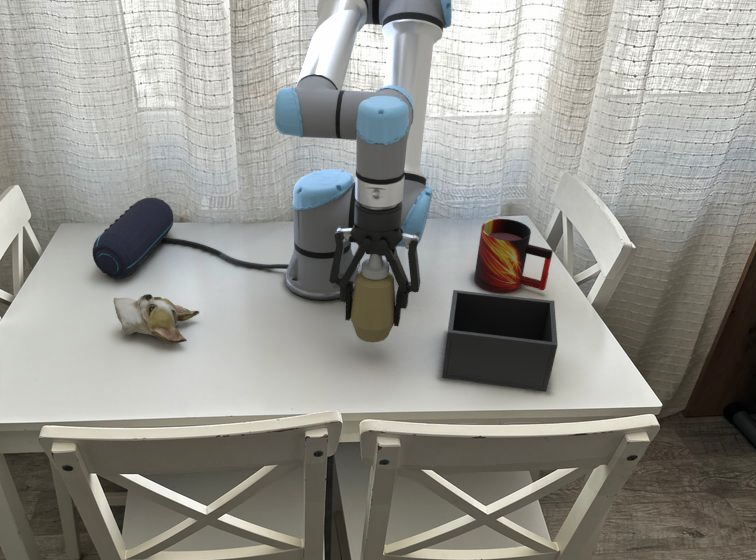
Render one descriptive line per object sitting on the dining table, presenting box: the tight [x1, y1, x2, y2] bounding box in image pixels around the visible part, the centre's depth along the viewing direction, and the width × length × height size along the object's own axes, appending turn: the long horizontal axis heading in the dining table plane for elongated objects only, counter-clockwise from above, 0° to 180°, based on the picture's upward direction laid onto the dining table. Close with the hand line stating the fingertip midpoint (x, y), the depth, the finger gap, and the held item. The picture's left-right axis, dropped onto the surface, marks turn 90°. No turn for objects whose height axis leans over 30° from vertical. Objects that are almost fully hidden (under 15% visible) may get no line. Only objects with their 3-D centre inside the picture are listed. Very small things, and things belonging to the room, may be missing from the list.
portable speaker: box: [92, 197, 174, 279], centre depth 159 cm, size 25×10×10 cm, turn 164°
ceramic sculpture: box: [112, 293, 200, 344], centre depth 135 cm, size 11×9×15 cm
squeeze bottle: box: [350, 254, 396, 344], centre depth 123 cm, size 8×8×18 cm
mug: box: [473, 218, 554, 294], centre depth 147 cm, size 10×14×12 cm
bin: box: [441, 289, 559, 393], centre depth 126 cm, size 18×14×10 cm
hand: (372, 318), depth 127 cm, fingers closed on squeeze bottle, 8 cm apart
